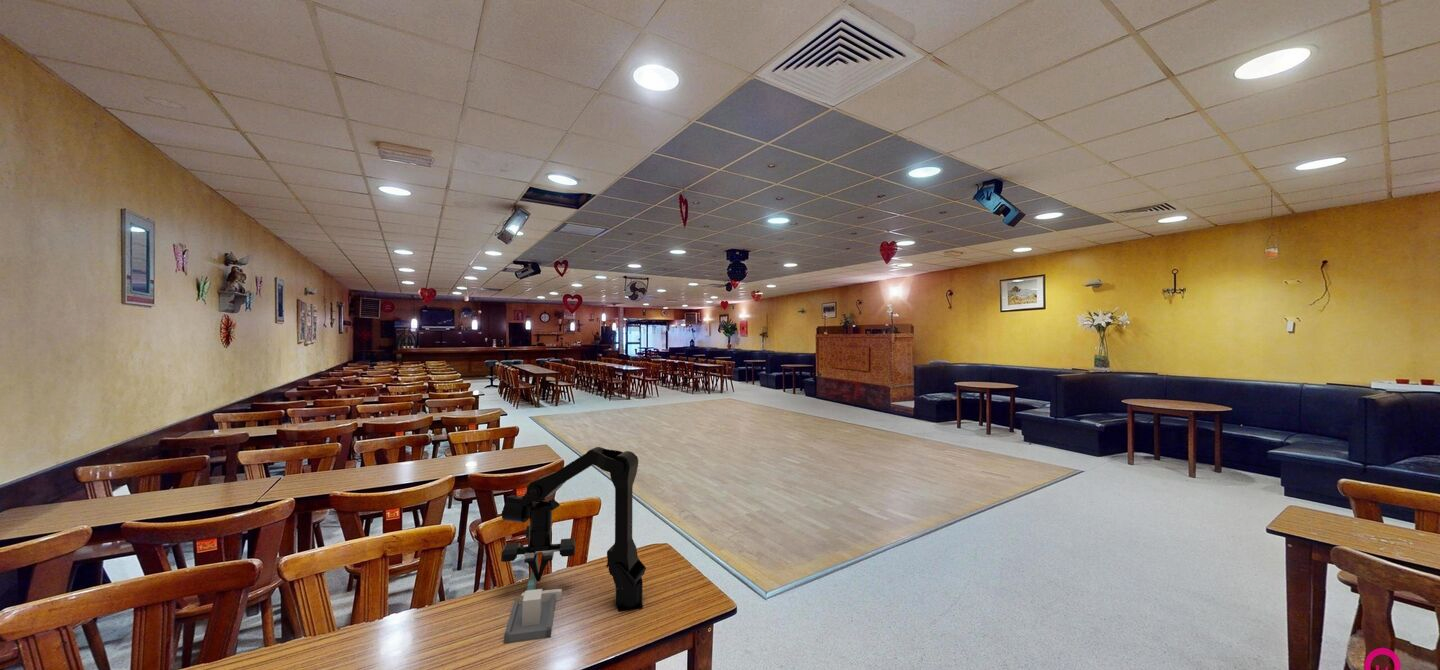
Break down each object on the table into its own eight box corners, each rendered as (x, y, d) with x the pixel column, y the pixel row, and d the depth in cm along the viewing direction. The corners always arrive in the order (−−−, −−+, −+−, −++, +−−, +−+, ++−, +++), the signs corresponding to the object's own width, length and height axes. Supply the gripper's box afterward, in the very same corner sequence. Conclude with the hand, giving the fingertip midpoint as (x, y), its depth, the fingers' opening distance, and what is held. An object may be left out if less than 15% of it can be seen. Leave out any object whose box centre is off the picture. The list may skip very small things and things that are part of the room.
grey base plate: (555, 601, 124) (555, 594, 124) (550, 638, 109) (550, 629, 109) (514, 606, 121) (515, 598, 122) (503, 644, 106) (504, 635, 106)
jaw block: (541, 612, 118) (542, 588, 118) (539, 624, 113) (540, 599, 113) (524, 614, 117) (525, 590, 117) (521, 626, 112) (522, 601, 112)
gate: (563, 584, 133) (563, 569, 133) (561, 599, 125) (561, 584, 125) (525, 588, 130) (525, 573, 130) (521, 604, 122) (521, 588, 122)
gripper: (576, 511, 139) (574, 564, 139) (509, 515, 135) (507, 570, 134) (575, 525, 129) (573, 582, 128) (501, 530, 124) (499, 590, 123)
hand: (538, 580), depth 129 cm, fingers closed
